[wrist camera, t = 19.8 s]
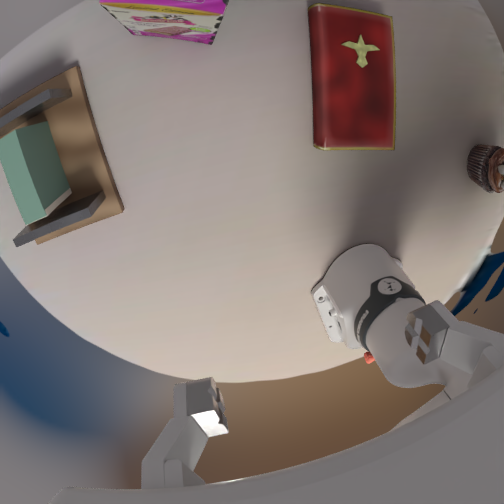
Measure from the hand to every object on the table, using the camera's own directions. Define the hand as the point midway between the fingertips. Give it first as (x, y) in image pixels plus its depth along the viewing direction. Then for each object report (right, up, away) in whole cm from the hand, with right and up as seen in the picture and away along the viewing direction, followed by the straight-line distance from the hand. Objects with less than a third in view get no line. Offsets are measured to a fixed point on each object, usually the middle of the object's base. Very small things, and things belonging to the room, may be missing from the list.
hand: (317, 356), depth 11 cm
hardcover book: (+11, +29, +27) cm, 42 cm away
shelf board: (-31, +17, +25) cm, 43 cm away
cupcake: (+43, +22, +37) cm, 61 cm away
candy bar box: (-12, +33, +20) cm, 41 cm away
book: (-30, +17, +23) cm, 42 cm away
